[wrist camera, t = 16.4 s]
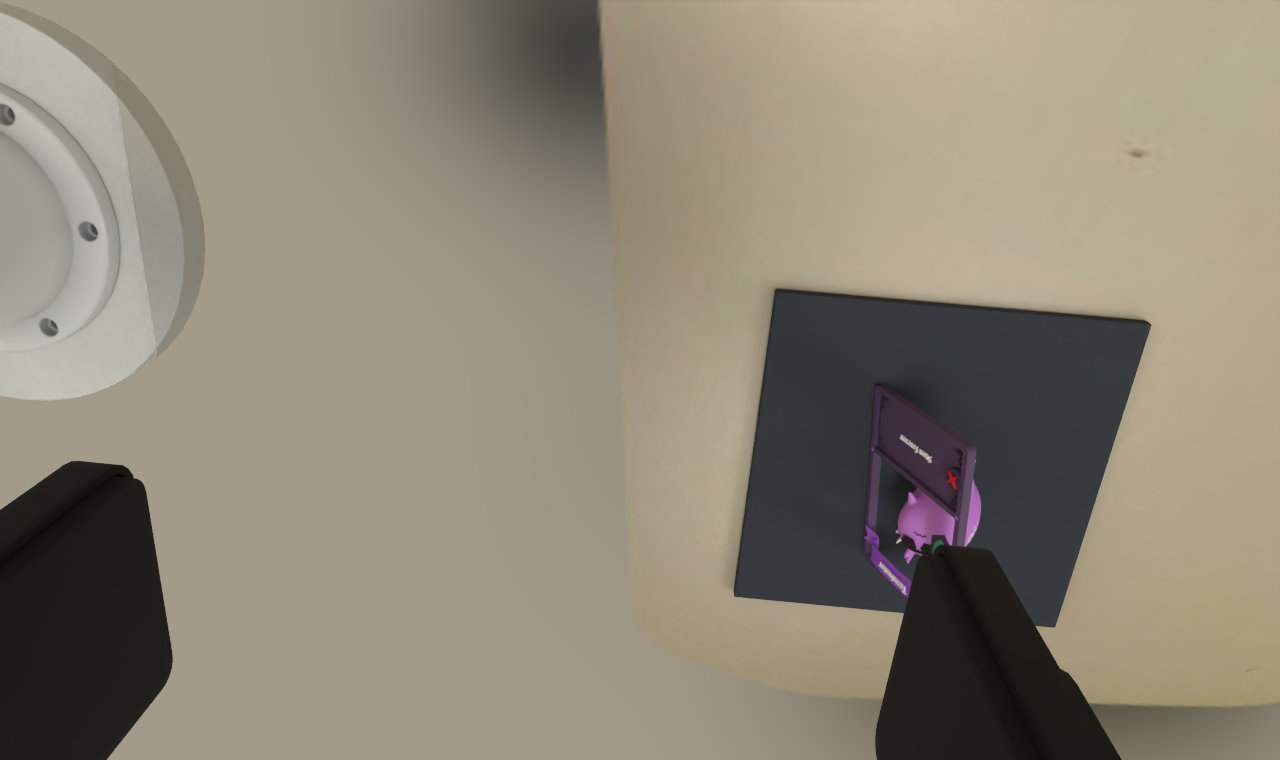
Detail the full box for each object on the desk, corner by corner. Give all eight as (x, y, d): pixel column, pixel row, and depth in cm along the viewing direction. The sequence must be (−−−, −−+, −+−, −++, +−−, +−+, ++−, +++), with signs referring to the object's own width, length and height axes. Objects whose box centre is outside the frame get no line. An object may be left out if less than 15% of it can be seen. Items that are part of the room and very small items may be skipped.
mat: (733, 590, 44) (734, 597, 43) (775, 288, 37) (776, 292, 37) (1051, 621, 43) (1055, 628, 43) (1146, 320, 37) (1152, 324, 37)
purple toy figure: (951, 452, 32) (928, 646, 35) (1068, 430, 33) (1035, 620, 37) (860, 386, 38) (848, 558, 41) (962, 370, 39) (943, 538, 43)
